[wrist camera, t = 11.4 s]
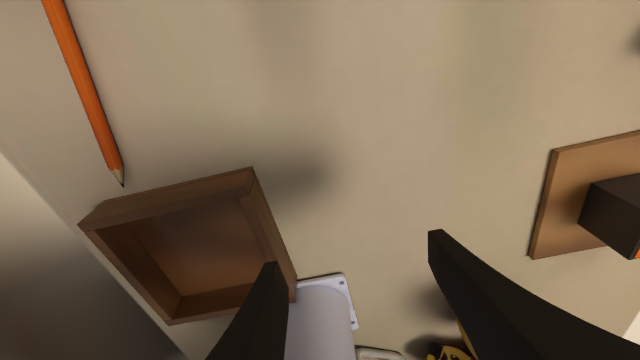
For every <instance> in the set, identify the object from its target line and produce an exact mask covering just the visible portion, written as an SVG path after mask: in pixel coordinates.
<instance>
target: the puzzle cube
mask: <svg viewBox="0 0 640 360" xmlns="http://www.w3.org/2000/svg"><path fill="white" fill-rule="evenodd" d="M577 224H578V225H580V226H581V227H582V228H584V229H585V230H587V231H588V232H589V233H591V234H592V235H594V236H595V237H597V238H598V239H599V240H601V241H602V242H604V243H605V244H606V245H608V246H609V247H611V248H612V249H613V250H615V251H616V252H618V253H619V254H621V255H622V256H623V257H625V258H626V259H628V260H632V259H637V258H640V173H636V174H631V175H626V176H621V177H616V178H611V179H607V180H602V181H597V182H592V183H591V184H590V187H589V190H588V193H587V196H586V199H585V202H584V204H583V207H582V210H581V213H580V216H579V219H578V222H577Z"/></svg>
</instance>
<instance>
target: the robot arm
mask: <svg viewBox="0 0 640 360" xmlns="http://www.w3.org/2000/svg"><path fill="white" fill-rule="evenodd" d="M428 263H429V265H430V267H431V270H432V272H433V275H434V277H435V279H436V281H437V284H438V285H439V287H440V289H441V291H442V293H443V294H444V296H445V298H446V300H447V301H448V303H449V305H450V307H451V308H452V310H453V312H454V314H455V315H456V317H457V319H458V321H459V322H460V324H461V326H462V328H463V329H464V331H465V333H466V335H467V337H468V339H469V341H470V343H471V345H472V347H473V349H474V351H475V354H476V356H477V358H478V360H640V345H638V344H636V343H633V342H631V341H629V340H626V339H624V338H621V337H619V336H617V335H614V334H612V333H610V332H608V331H606V330H603V329H601V328H599V327H597V326H595V325H593V324H590V323H588V322H586V321H584V320H582V319H580V318H578V317H576V316H574V315H572V314H570V313H568V312H566V311H564V310H562V309H560V308H558V307H556V306H554V305H552V304H550V303H549V302H547V301H545V300H543V299H541V298H540V297H538V296H536V295H534V294H532V293H531V292H529V291H527V290H526V289H524V288H522V287H521V286H519V285H518V284H516V283H514V282H513V281H511V280H510V279H508V278H507V277H505V276H504V275H502V274H501V273H499V272H498V271H496V270H495V269H493V268H492V267H490V266H489V265H488V264H486V263H485V262H483V261H482V260H481V259H479V258H478V257H477V256H475V255H474V254H473V253H471V252H470V251H469V250H467V249H466V248H465V247H464V246H462V245H461V244H460V243H459V242H457V241H456V240H455V239H454V238H452V237H451V236H450V235H449V234H448V233H446V232H445V231H444V230H442V229H437V230H432V231H428ZM340 281H341V282H340ZM356 329H358V322H357V318H356V315H355V311H354V307H353V304H352V300H351V296H350V293H349V289H348V285H347V282H346V278H345V275H344V274H335V275H330V276H324V277H319V278H314V279H309V280H304V281H299V282H297V291H296V302H294V303H289V287H288V285H287V282H286V280H285V278H284V275H283V273H282V271H281V268H280V266H279V264H278V261H277V260H276V261H271V262H265V263H264V265H263V266H262V268H261V270H260V272H259V274H258V276H257V278H256V280H255V282H254V284H253V286H252V288H251V290H250V291H249V293H248V295H247V297H246V298H245V300H244V302H243V304H242V306H241V307H240V309H239V311H238V312H237V314H236V315H235V317H234V319H233V320H232V322H231V323H230V325H229V327H228V328H227V330H226V331H225V333H224V334H223V335H222V337H221V338H220V340H219V341H218V343H217V344H216V345H215V347H214V348H213V349H212V351H211V352H210V353H209V355H208V356H207V357H206V358H205V360H356V354H355V347H354V340H353V334H352V330H356Z"/></svg>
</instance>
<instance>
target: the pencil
mask: <svg viewBox="0 0 640 360" xmlns="http://www.w3.org/2000/svg"><path fill="white" fill-rule="evenodd" d="M41 2H42V4H43V7H44V9H45V12H46V14H47V17H48V19H49V22H50V24H51V27H52V29H53V32H54V34H55V37H56V39H57V42H58V44H59V47H60V49H61V52H62V54H63V57H64V59H65V62H66V64H67V67H68V69H69V72H70V74H71V77H72V79H73V82H74V84H75V87H76V89H77V92H78V94H79V97H80V99H81V102H82V104H83V107H84V109H85V112H86V114H87V117H88V119H89V122H90V124H91V127H92V129H93V132H94V134H95V137H96V139H97V142H98V144H99V147H100V149H101V152H102V154H103V157H104V159H105V162H106V164H107V167H108V168H109V170H110V171H111V172H112V174H113V175H114V176H115V178H116V179H117V180H118V182H119V183H120V184H121V185H122V187H123V188H124V178H123V164H122V162H121V159H120V156H119V153H118V151H117V148H116V145H115V142H114V140H113V137H112V134H111V132H110V129H109V126H108V123H107V121H106V118H105V115H104V112H103V110H102V107H101V104H100V102H99V99H98V96H97V93H96V91H95V88H94V85H93V83H92V80H91V77H90V74H89V72H88V69H87V66H86V63H85V61H84V58H83V55H82V53H81V50H80V47H79V44H78V42H77V39H76V36H75V33H74V31H73V28H72V25H71V23H70V20H69V17H68V14H67V12H66V9H65V6H64V3H63V1H62V0H41Z"/></svg>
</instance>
